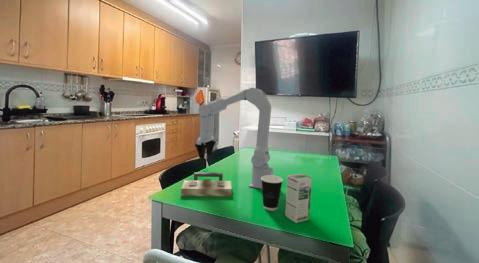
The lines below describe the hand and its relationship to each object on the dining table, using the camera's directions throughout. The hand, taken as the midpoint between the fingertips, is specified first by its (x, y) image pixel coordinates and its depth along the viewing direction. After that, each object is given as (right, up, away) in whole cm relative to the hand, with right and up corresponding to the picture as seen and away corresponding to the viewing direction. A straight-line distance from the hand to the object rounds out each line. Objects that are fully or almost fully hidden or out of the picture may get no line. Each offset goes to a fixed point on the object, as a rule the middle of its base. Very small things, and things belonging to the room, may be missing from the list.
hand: (205, 156), depth 121 cm
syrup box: (+36, -17, -38) cm, 55 cm away
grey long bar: (+2, -11, -7) cm, 13 cm away
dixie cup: (+28, -15, -31) cm, 45 cm away
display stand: (+3, -13, -18) cm, 22 cm away
